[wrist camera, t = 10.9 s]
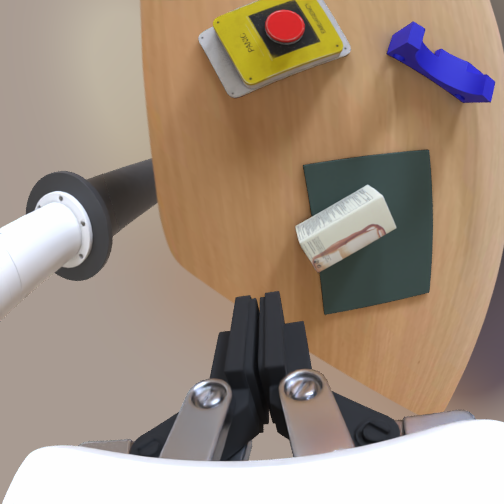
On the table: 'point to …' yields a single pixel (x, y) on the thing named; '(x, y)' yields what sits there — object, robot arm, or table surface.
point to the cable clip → (440, 66)
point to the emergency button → (271, 42)
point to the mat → (388, 246)
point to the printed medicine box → (345, 227)
